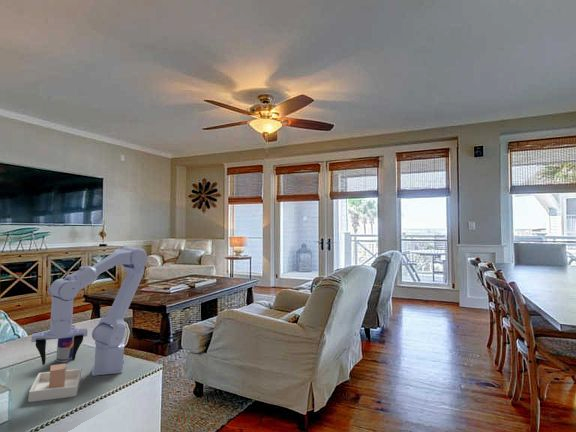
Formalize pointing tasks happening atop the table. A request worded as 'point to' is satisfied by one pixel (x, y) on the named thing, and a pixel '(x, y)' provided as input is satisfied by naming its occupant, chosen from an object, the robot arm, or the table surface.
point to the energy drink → (65, 348)
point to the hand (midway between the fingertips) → (58, 361)
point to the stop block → (57, 376)
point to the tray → (43, 392)
